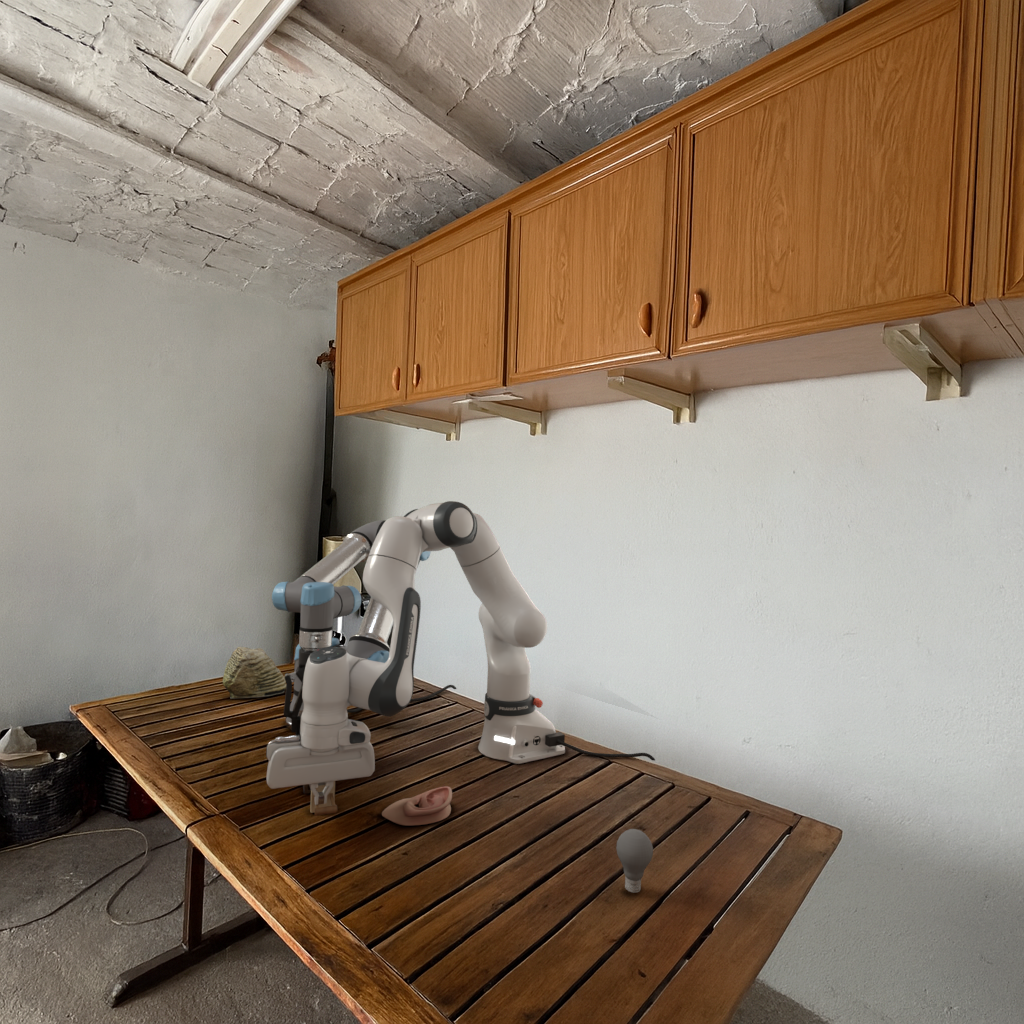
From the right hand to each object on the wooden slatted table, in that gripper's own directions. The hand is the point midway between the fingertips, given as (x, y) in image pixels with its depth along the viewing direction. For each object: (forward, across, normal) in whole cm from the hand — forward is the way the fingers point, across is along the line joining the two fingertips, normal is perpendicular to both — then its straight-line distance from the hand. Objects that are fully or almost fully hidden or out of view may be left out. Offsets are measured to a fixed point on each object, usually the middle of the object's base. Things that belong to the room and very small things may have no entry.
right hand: (320, 803), depth 124 cm
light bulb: (+3, +45, -41) cm, 61 cm away
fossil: (+3, -8, +85) cm, 86 cm away
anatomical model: (+3, +19, -3) cm, 19 cm away
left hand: (0, +2, +30) cm, 30 cm away
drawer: (+3, +1, +11) cm, 11 cm away
